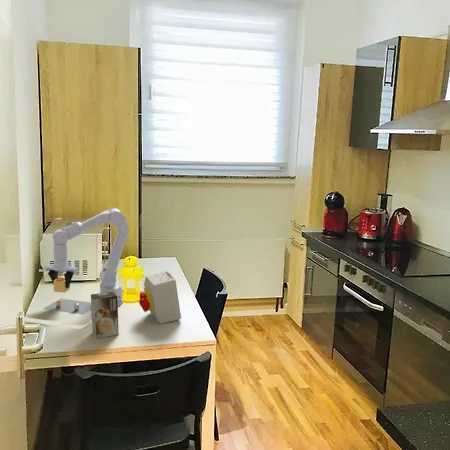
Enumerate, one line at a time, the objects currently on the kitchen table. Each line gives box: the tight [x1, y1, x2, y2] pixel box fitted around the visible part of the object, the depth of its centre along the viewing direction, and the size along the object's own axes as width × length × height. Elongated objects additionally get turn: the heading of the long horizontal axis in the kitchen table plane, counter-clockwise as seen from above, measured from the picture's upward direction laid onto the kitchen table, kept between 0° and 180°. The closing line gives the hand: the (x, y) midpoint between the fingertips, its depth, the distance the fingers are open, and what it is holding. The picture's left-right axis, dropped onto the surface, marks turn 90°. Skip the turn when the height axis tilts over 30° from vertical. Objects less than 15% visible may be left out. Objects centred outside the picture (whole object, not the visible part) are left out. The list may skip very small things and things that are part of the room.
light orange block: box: [53, 275, 71, 293], centre depth 217 cm, size 5×5×6 cm
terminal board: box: [42, 298, 91, 315], centre depth 219 cm, size 20×14×2 cm
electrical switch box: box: [138, 270, 182, 325], centre depth 210 cm, size 15×15×20 cm
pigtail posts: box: [55, 300, 79, 311], centre depth 215 cm, size 11×2×3 cm, turn 74°
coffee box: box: [90, 292, 120, 339], centre depth 193 cm, size 9×6×16 cm
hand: (61, 287), depth 218 cm, fingers closed on light orange block, 5 cm apart
